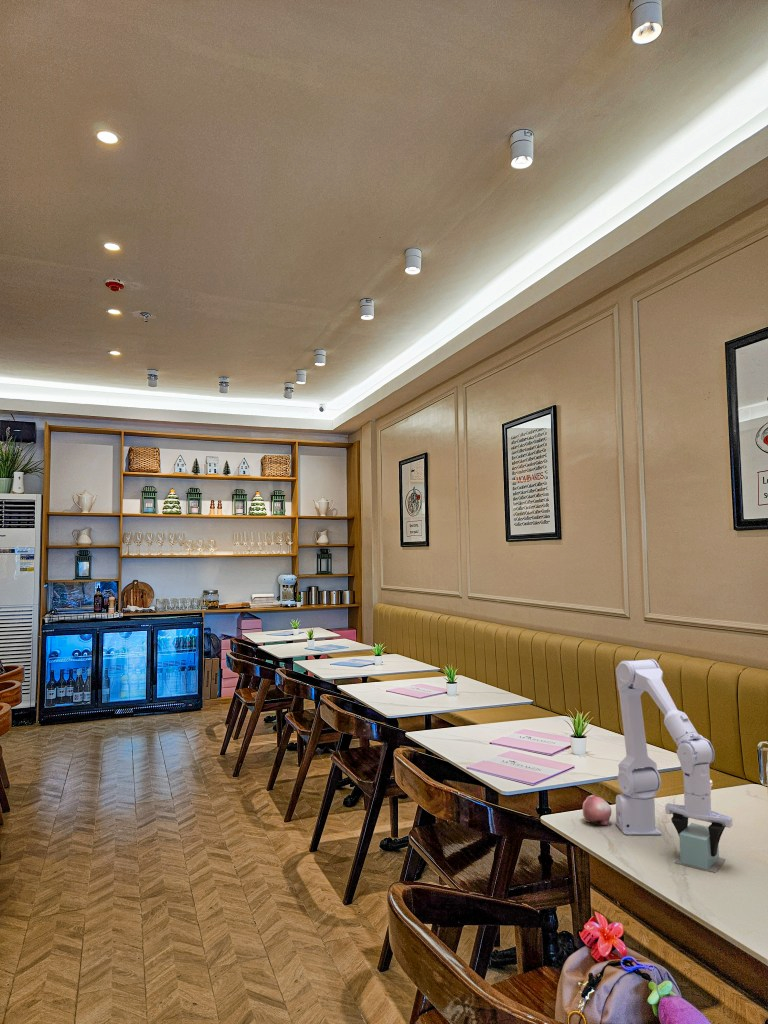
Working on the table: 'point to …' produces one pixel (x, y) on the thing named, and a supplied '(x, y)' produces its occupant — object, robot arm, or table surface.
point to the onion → (596, 810)
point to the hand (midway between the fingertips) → (699, 851)
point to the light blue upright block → (696, 846)
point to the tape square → (713, 868)
